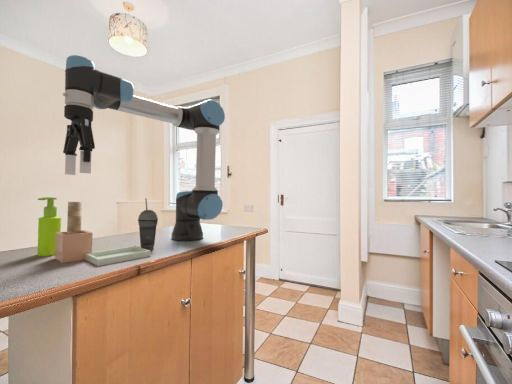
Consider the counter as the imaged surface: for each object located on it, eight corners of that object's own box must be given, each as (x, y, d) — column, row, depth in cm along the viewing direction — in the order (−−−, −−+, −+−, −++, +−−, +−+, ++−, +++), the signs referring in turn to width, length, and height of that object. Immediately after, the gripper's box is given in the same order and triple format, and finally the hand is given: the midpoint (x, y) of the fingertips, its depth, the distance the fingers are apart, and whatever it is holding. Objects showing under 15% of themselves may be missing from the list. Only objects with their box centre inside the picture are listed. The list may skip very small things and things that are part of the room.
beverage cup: (149, 252, 94) (151, 198, 94) (132, 250, 95) (134, 198, 95) (161, 248, 101) (162, 198, 101) (144, 247, 102) (146, 198, 103)
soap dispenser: (29, 259, 81) (31, 197, 81) (47, 254, 88) (49, 197, 88) (47, 259, 81) (49, 197, 81) (64, 254, 88) (65, 197, 88)
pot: (83, 256, 85) (84, 230, 86) (91, 260, 81) (92, 232, 81) (54, 260, 79) (55, 232, 79) (61, 265, 74) (62, 235, 75)
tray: (135, 253, 92) (135, 245, 92) (150, 258, 85) (150, 250, 85) (84, 261, 79) (84, 253, 79) (97, 268, 72) (97, 259, 72)
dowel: (78, 256, 82) (79, 201, 83) (81, 258, 80) (83, 202, 80) (64, 258, 80) (66, 201, 80) (68, 260, 77) (70, 202, 78)
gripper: (53, 111, 85) (51, 174, 84) (79, 94, 69) (77, 171, 69) (79, 117, 91) (77, 175, 90) (108, 102, 75) (106, 173, 75)
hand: (77, 174), depth 80 cm, fingers open, 13 cm apart
